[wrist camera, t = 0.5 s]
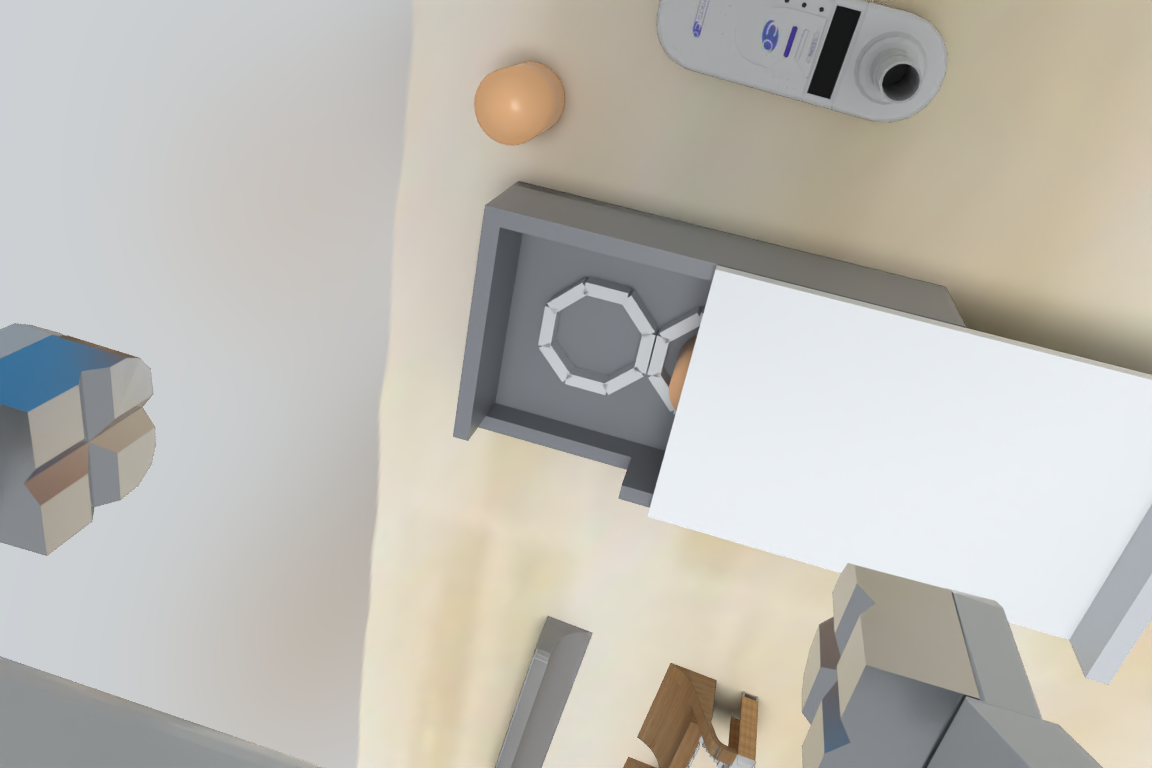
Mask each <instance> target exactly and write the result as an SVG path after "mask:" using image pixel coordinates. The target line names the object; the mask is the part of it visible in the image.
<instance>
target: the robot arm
mask: <svg viewBox="0 0 1152 768" xmlns="http://www.w3.org/2000/svg"><path fill="white" fill-rule="evenodd" d="M152 395H153V385H152V376H151V368H150V367H149V366H148V365H147V364H146V363H145V362H144V361H143V360H142V359H141V358H138V357H135V356H132V355H129V354H125V353H122V352H119V351H115V350H112V349H109V348H106V347H102V346H100V345H96V344H93V343H90V342H87V341H84V340H80V339H77V338H74V337H70V336H65V335H63V334H61V333H58V332H54V331H50V330H47V329H43V328H40V327H36V326H33V325H26V324H12V325H10V326H7V327H5V328H2V329H0V542H1V543H5V544H8V545H12V546H15V547H19V548H22V549H25V550H29V551H32V552H36V553H39V554H42V555H46V556H47V555H49V554H50V553H51V552H53V551H54V550H55V549H57V548H58V547H59V546H60V545H62V544H63V543H64V542H66V541H67V540H69V539H70V538H71V537H73V536H74V535H75V534H76V533H78V532H79V531H80V530H82V529H83V528H84V527H85V526H87V525H88V524H90V523H91V522H92V520H93V513H94V507H96V506H100V505H104V504H108V503H111V502H115V501H118V500H121V499H122V498H123V497H125V496H126V495H127V494H129V493H130V492H131V491H132V490H134V489H135V488H136V487H137V486H138V485H139V484H140V482H141V481H142V479H143V477H144V476H145V474H146V473H147V471H148V469H149V468H150V466H151V464H152V460H153V456H154V451H155V446H156V439H155V438H156V437H155V426H154V424H153V423H152V421H151V420H150V418H149V416H148V415H147V413H146V412H145V410H144V409H143V406H144V405H145V403H146V402H147V401H148V400H149V399H150V398H151V396H152ZM832 594H833V612H834V617H832V618H830V619H828V620H827V621H825V622H823V623H821V624H819V626H818V629H817V632H816V634H815V637H814V640H813V642H812V645H811V647H810V651H809V655H808V659H807V663H806V667H805V671H804V677H803V686H802V713H803V714H804V716H805V717H806V719H807V720H808V721H809V723H810V724H811V727H810V729H809V731H808V734H807V736H806V738H805V741H804V743H803V745H802V763H803V768H1103V767H1102V766H1101V765H1100V764H1099V763H1098V762H1097V761H1096V760H1095V759H1094V758H1093V757H1092V756H1090V755H1089V754H1088V753H1087V752H1086V751H1085V750H1084V749H1083V748H1082V747H1081V746H1080V745H1079V744H1078V743H1077V742H1076V741H1075V740H1074V739H1073V738H1072V737H1071V736H1070V735H1069V734H1068V733H1067V732H1066V731H1065V730H1064V729H1063V728H1062V727H1061V726H1060V725H1058V724H1055V723H1052V722H1048V721H1045V720H1043V719H1042V716H1041V714H1040V711H1039V708H1038V705H1037V702H1036V699H1035V697H1034V694H1033V691H1032V688H1031V685H1030V682H1029V680H1028V677H1027V674H1026V671H1025V668H1024V665H1023V663H1022V660H1021V657H1020V654H1019V651H1018V648H1017V645H1016V643H1015V640H1014V637H1013V634H1012V631H1011V628H1010V626H1009V623H1008V620H1007V617H1006V614H1005V611H1004V609H1003V607H1002V606H1001V605H1000V604H999V603H998V602H997V601H995V600H991V599H987V598H983V597H979V596H975V595H971V594H967V593H963V592H959V591H955V590H951V589H947V588H946V589H945V588H941V587H937V586H934V585H930V584H926V583H922V582H918V581H915V580H911V579H907V578H903V577H900V576H896V575H892V574H888V573H885V572H881V571H877V570H873V569H870V568H866V567H862V566H858V565H855V564H851V563H847V565H846V566H845V568H844V569H843V571H842V572H841V574H840V576H839V579H838V581H837V583H836V585H835V588H834V590H833V592H832ZM0 768H324V767H322V766H319V765H315V764H313V763H310V762H307V761H304V760H301V759H298V758H295V757H292V756H289V755H287V754H284V753H281V752H278V751H275V750H271V749H269V748H266V747H263V746H260V745H257V744H255V743H251V742H249V741H245V740H243V739H240V738H237V737H234V736H231V735H228V734H225V733H222V732H219V731H216V730H214V729H211V728H208V727H204V726H202V725H199V724H196V723H193V722H190V721H187V720H184V719H181V718H179V717H176V716H173V715H170V714H167V713H164V712H161V711H158V710H155V709H152V708H149V707H146V706H144V705H141V704H138V703H135V702H132V701H129V700H126V699H123V698H120V697H117V696H114V695H111V694H109V693H105V692H103V691H100V690H97V689H94V688H91V687H88V686H85V685H82V684H79V683H76V682H73V681H71V680H68V679H64V678H62V677H59V676H56V675H53V674H50V673H47V672H44V671H41V670H38V669H35V668H33V667H30V666H27V665H24V664H21V663H18V662H15V661H12V660H9V659H6V658H3V657H1V656H0Z"/></svg>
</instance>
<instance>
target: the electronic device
mask: <svg viewBox="0 0 1152 768" xmlns="http://www.w3.org/2000/svg"><path fill="white" fill-rule="evenodd" d="M657 33H658V37H659V40H660V43H661V45H662V47H663V48H664V50H665V52H666V53H667V54H668V56H669V57H670V58H671V59H672V60H673V61H675V62H676V63H677V64H679V65H680V66H682V67H684V68H685V69H688V70H691V71H695V72H699V73H702V74H706V75H709V76H713V77H716V78H720V79H724V80H727V81H731V82H734V83H738V84H741V85H745V86H748V87H752V88H756V89H759V90H763V91H766V92H770V93H773V94H777V95H781V96H784V97H788V98H791V99H795V100H798V101H800V100H801V101H802V102H805V103H809V104H813V105H816V106H820V107H823V108H827V109H830V108H831V110H834V111H838V112H841V113H845V114H848V115H852V116H855V117H859V118H863V119H866V120H870V121H878V122H889V123H890V122H894V121H898V120H902V119H906V118H909V117H911V116H912V115H914V114H915V113H917V112H919V111H920V110H922V109H923V108H925V107H926V106H927V105H928V103H929V102H930V101H931V100H932V98H933V97H934V96H935V95H936V93H937V92H938V91H939V89H940V87H941V84H942V82H943V79H944V77H945V74H946V66H947V50H946V47H945V44H944V41H943V38H942V35H941V34H940V33H939V32H938V31H937V30H936V28H935V27H934V26H933V25H932V24H931V23H930V21H928V20H926V19H924V18H921V17H919V16H917V15H915V14H913V13H911V12H907V11H903V10H899V9H895V8H892V7H888V6H884V5H880V4H876V3H872V2H868V1H865V0H660V4H659V8H658V13H657Z"/></svg>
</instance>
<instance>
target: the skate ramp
mask: <svg viewBox="0 0 1152 768" xmlns="http://www.w3.org/2000/svg"><path fill="white" fill-rule="evenodd" d="M591 636H592V633H591V632H589V631H586V630H584V629H581V628H578V627H576V626H573V625H570V624H568V623H565V622H563V621H560V620H557V619H555V618H552V617H550V616H548V618H547V620H546V623H545V626H544V628H543V631H542V633H541V636H540V638H539V641H538V644H537V646H536V649H535V652H534V655H533V658H532V661H531V663H530V666H529V669H528V672H527V675H526V678H525V681H524V684H523V687H522V690H521V693H520V696H519V699H518V702H517V705H516V707H515V710H514V713H513V716H512V719H511V722H510V725H509V728H508V731H507V734H506V737H505V740H504V743H503V746H502V749H501V751H500V754H499V757H498V760H497V763H496V766H495V768H542V765H543V762H544V760H545V757H546V754H547V752H548V749H549V747H550V744H551V741H552V739H553V736H554V733H555V731H556V728H557V725H558V723H559V720H560V718H561V715H562V712H563V710H564V707H565V704H566V702H567V699H568V696H569V694H570V691H571V689H572V686H573V683H574V681H575V678H576V675H577V673H578V670H579V667H580V665H581V662H582V660H583V657H584V654H585V652H586V649H587V646H588V644H589V641H590V639H591ZM715 688H716V680H714V679H712V678H709V677H706V676H704V675H701V674H699V673H696V672H693V671H691V670H688V669H685V668H683V667H680V666H678V665H675V664H672V663H670V666H669V668H668V670H667V672H666V674H665V677H664V679H663V681H662V683H661V686H660V688H659V690H658V692H657V694H656V697H655V699H654V701H653V703H652V706H651V708H650V710H649V712H648V714H647V717H646V719H645V721H644V723H643V726H642V728H641V730H640V732H639V734H638V737H637V738H639V739H641V740H642V741H643V742H644V743H645V744H646V745H647V746H648V747H649V748H650V749H651V750H652V752H653V753H654V755H655V757H656V759H657V761H658V763H659V766H660V768H690V766H691V764H692V762H693V760H694V758H695V756H696V754H697V752H698V750H699V748H698V747H697V746H700V743H703V744H702V747H704V748H706V752H708V753H709V754H710V757H711V758H714V761H713V762H715V763H717V767H718V768H753V767H754V765H755V763H756V761H755V757H756V737H757V718H758V696H757V698H756V701H755V700H753V699H750V698H748V697H745V691H744V692H743V696H742V703H741V717H740V720H738V719H735V718H733V713H732V715H731V721H730V733H729V745H728V746H726V745H724V744H722V743H721V742H720V741H719V740H718V738H717V736H716V734H715V731H714V728H713V725H712V723H711V720H712V715H713V706H714V697H715ZM698 744H699V745H698ZM696 748H698V750H697V749H696ZM695 750H697V752H696V751H695ZM695 752H696V754H695ZM693 754H694V755H695V756H694V755H693ZM692 756H693V757H692ZM691 758H693V760H692V759H691ZM690 760H692V762H691V761H690ZM689 762H691V764H690V763H689ZM724 763H725V764H724ZM689 764H690V766H689ZM687 766H688V767H687ZM624 768H655V767H653V766H650V765H648V764H645V763H643V762H640V761H638V760H635V759H632V758H630V757H628V759H627V761H626V763H625V765H624ZM754 768H755V767H754Z"/></svg>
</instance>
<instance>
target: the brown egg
mask: <svg viewBox="0 0 1152 768" xmlns="http://www.w3.org/2000/svg"><path fill="white" fill-rule="evenodd" d="M474 105H475V114H476V117H477V120H478V122H479V124H480V126H481V128H482V129H483V131H484V132H485V133H486V134H487V135H488V136H489V137H490V138H492V139H493V140H495V141H497V142H499V143H501V144H505V145H519V144H523V143H525V142H527V141H529V140H530V139H532V138H534V137H536V136H537V135H539V134H541V133H543V132H544V131H546V130H548V129H549V128H551V127H552V126H554V125H555V124H556V123H557V121H558V120H559V119H560V117H561V115H562V113H563V110H564V106H565V93H564V88H563V85H562V83H561V81H560V79H559V77H558V76H557V75H556V73H555V72H554V71H553V70H551V69H550V68H549V67H547V66H546V65H544V64H541V63H538V62H524V63H520V64H517V65H513V66H510V67H506V68H502V69H499V70H496V71H494V72H492V73H490V74H489V75H487V76H486V77H485V78H484V79H483V81H482V82H481V83H480V85H479V87H478V89H477V92H476V95H475V103H474Z"/></svg>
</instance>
